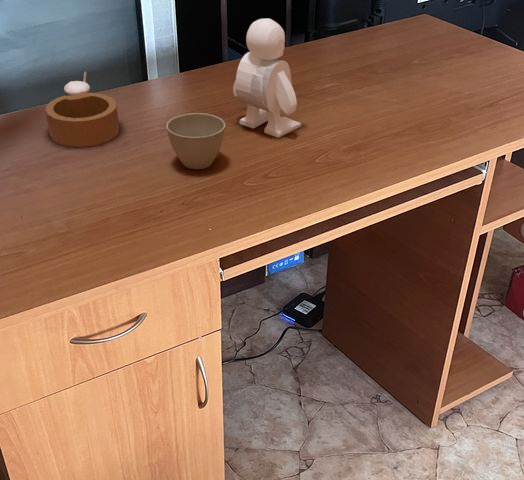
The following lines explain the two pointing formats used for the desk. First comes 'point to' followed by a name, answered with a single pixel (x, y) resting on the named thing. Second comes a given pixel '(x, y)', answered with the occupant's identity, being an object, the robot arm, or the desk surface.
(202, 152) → the flower pot
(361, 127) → the desk surface
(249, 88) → the toy robot
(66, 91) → the milkshake
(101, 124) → the tape
